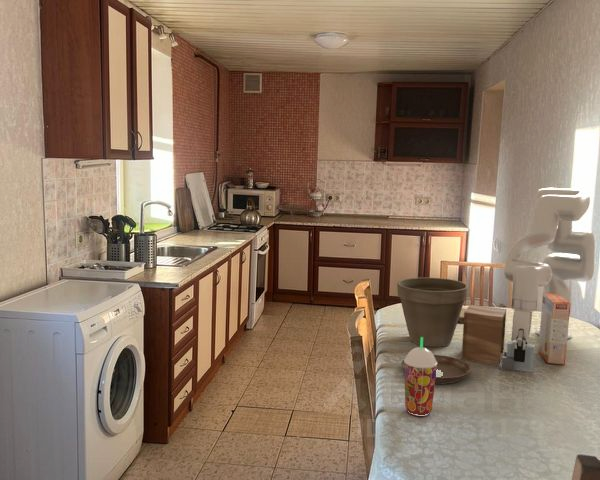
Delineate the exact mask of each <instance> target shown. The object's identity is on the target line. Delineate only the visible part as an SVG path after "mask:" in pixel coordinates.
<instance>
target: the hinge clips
mask: <svg viewBox="0 0 600 480" xmlns="http://www.w3.org/2000/svg"><path fill="white" fill-rule="evenodd" d="M498 370H501V371H506V372H507V371H508V372H514V371H515V369H514V358H512V357H507V350H504V352H503V357H502V359H501V362H500V365H498Z"/></svg>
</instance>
